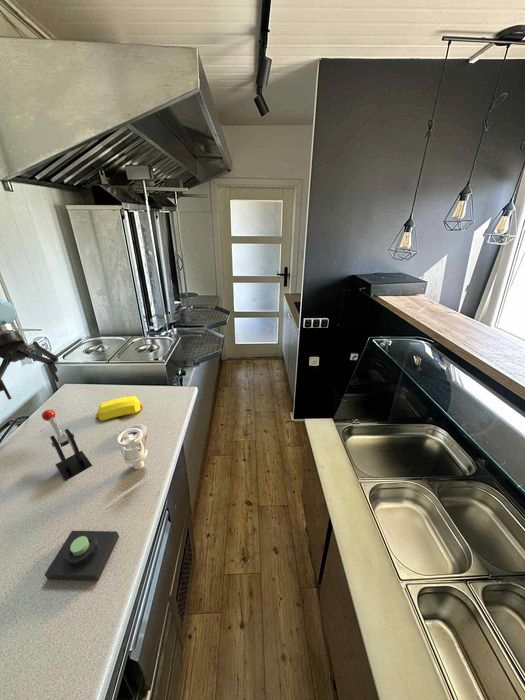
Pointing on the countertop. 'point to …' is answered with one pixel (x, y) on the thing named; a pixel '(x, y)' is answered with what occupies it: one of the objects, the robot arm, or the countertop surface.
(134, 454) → the white tall carved piece
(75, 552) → the button
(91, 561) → the black base plate
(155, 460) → the countertop surface
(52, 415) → the lever
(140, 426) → the donut
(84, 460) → the bracket
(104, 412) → the yellow bar
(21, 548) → the countertop surface
